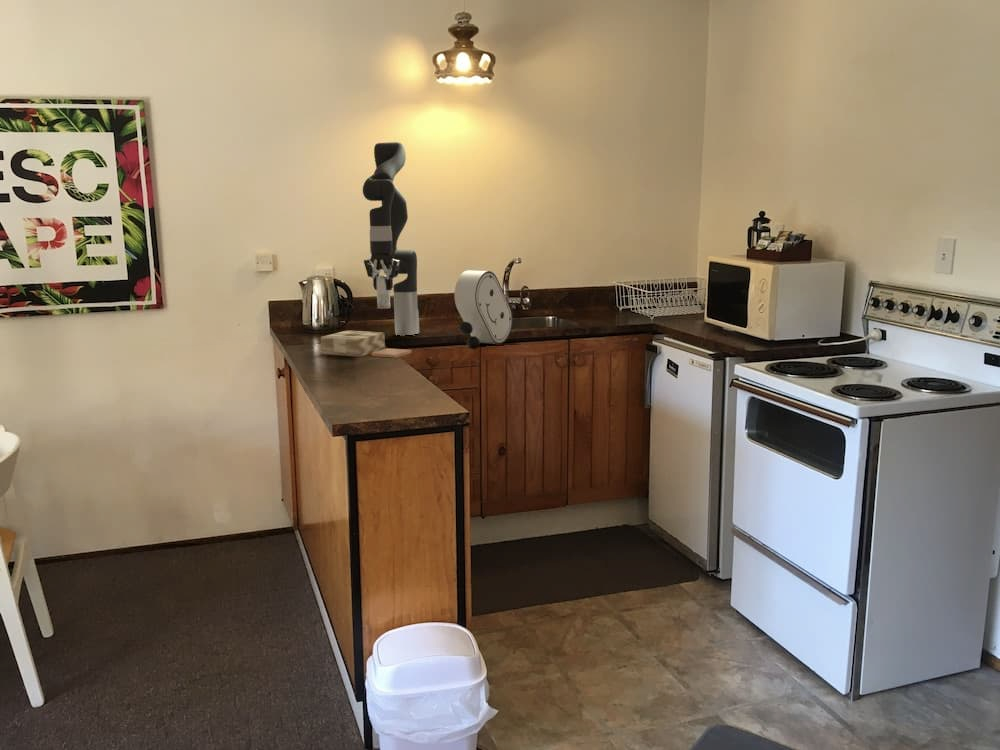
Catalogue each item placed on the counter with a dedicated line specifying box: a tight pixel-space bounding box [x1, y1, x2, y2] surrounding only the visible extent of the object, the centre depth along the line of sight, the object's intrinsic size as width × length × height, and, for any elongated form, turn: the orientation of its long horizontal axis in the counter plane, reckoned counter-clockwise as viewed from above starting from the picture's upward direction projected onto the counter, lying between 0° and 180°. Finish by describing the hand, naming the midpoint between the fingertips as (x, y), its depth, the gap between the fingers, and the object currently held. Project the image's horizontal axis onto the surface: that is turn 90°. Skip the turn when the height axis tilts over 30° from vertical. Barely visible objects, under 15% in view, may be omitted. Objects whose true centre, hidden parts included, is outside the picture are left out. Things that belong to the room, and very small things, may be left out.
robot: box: [454, 269, 513, 350], centre depth 312 cm, size 30×9×24 cm
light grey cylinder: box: [376, 274, 391, 310], centre depth 298 cm, size 4×4×11 cm
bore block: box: [320, 329, 386, 358], centre depth 308 cm, size 16×16×6 cm
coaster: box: [370, 347, 412, 359], centre depth 302 cm, size 10×10×1 cm
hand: (383, 289), depth 298 cm, fingers closed on light grey cylinder, 4 cm apart
